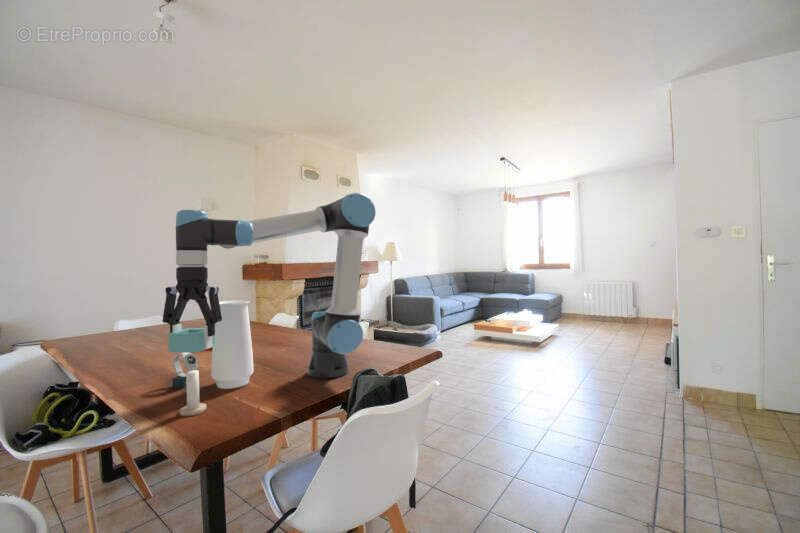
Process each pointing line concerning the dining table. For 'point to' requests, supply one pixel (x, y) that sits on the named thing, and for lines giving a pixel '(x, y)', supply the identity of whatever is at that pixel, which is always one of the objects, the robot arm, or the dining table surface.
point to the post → (192, 395)
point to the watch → (188, 361)
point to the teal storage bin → (188, 340)
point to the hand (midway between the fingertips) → (192, 347)
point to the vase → (232, 346)
